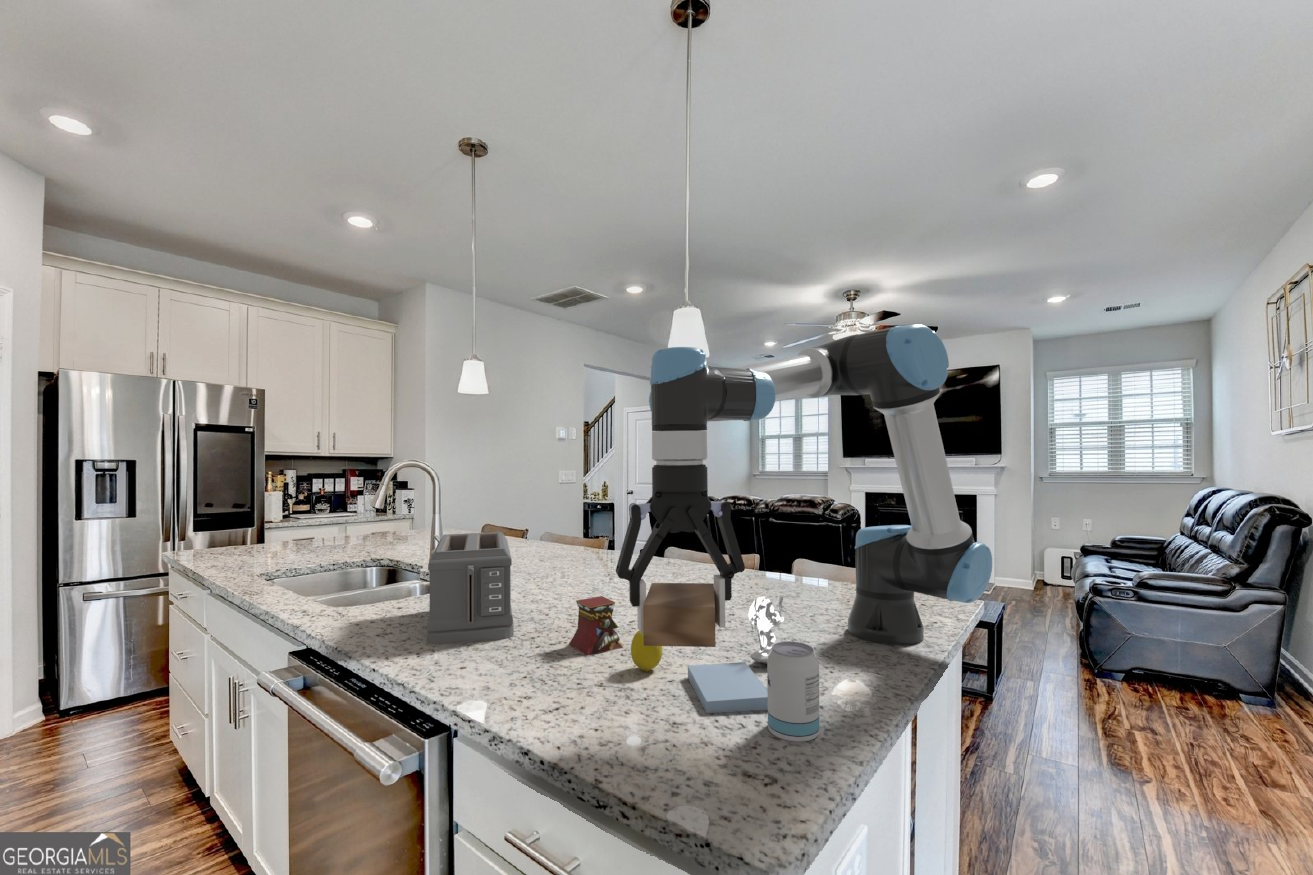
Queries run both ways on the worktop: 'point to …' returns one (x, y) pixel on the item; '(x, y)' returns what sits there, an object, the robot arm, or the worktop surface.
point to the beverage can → (793, 692)
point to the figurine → (764, 625)
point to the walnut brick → (679, 615)
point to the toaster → (470, 589)
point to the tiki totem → (595, 627)
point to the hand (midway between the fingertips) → (681, 627)
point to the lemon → (644, 653)
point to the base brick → (728, 687)
